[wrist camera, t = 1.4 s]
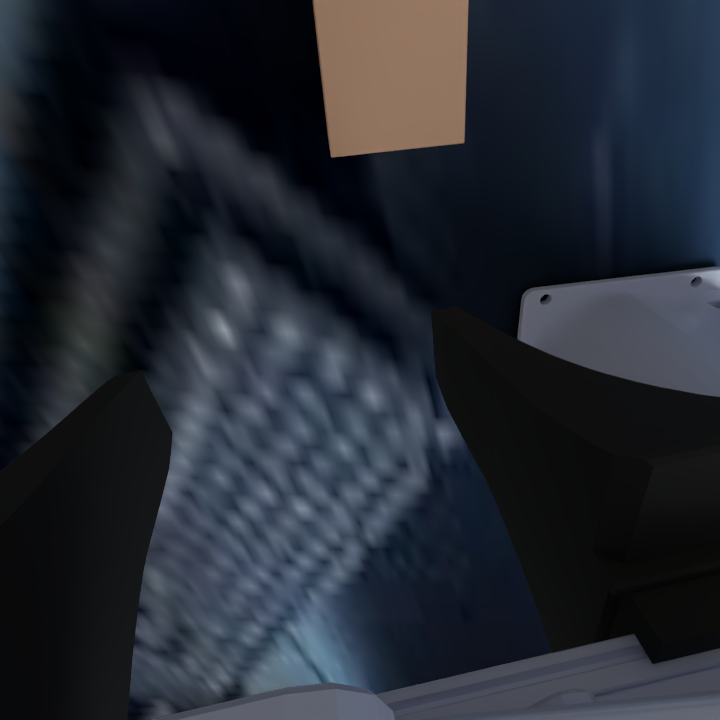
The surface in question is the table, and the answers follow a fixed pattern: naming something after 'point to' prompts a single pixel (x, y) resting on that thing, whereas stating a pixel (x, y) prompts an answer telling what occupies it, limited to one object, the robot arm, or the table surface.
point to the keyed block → (392, 73)
